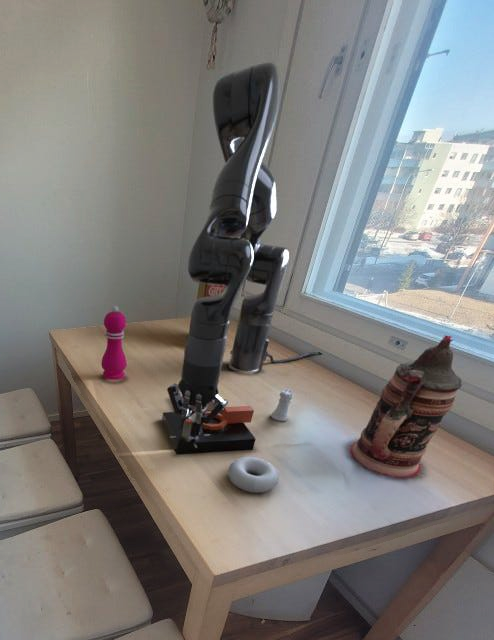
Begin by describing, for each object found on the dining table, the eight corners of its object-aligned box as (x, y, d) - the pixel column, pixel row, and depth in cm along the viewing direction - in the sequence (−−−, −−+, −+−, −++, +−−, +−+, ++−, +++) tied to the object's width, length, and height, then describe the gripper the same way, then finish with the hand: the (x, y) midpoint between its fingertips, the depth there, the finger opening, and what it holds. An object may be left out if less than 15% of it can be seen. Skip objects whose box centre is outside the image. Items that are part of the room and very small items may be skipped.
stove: (230, 419, 104) (233, 408, 102) (256, 455, 92) (259, 443, 90) (157, 423, 102) (158, 411, 100) (173, 460, 90) (175, 448, 88)
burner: (221, 412, 101) (221, 412, 101) (235, 431, 94) (235, 431, 94) (186, 414, 100) (186, 413, 100) (197, 433, 93) (197, 433, 93)
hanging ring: (200, 430, 94) (203, 418, 92) (191, 415, 99) (193, 403, 97) (254, 427, 96) (258, 415, 94) (243, 413, 101) (246, 401, 99)
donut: (265, 466, 89) (220, 467, 88) (270, 453, 87) (224, 453, 86) (283, 496, 82) (234, 496, 81) (288, 482, 80) (238, 483, 79)
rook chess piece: (287, 418, 106) (297, 389, 101) (287, 426, 102) (297, 397, 97) (269, 415, 107) (278, 386, 102) (268, 423, 104) (277, 393, 98)
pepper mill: (123, 384, 118) (126, 310, 105) (98, 382, 119) (98, 308, 106) (127, 374, 123) (131, 303, 110) (104, 372, 124) (105, 300, 111)
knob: (191, 430, 94) (194, 411, 91) (198, 433, 93) (202, 414, 90) (181, 439, 91) (184, 420, 88) (188, 442, 90) (191, 423, 87)
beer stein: (389, 449, 100) (320, 445, 98) (453, 328, 85) (373, 318, 83) (439, 485, 87) (360, 481, 84) (526, 348, 71) (433, 338, 69)
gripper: (244, 360, 80) (226, 437, 91) (181, 343, 86) (171, 417, 97) (228, 372, 75) (211, 452, 86) (163, 354, 81) (155, 431, 92)
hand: (190, 433), depth 91 cm, fingers closed on knob, 2 cm apart
